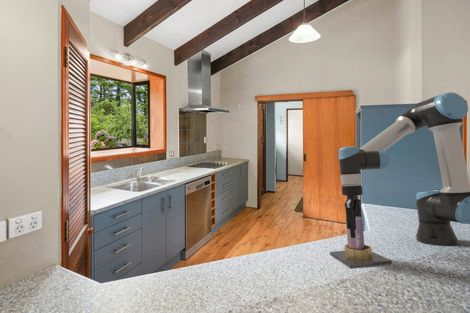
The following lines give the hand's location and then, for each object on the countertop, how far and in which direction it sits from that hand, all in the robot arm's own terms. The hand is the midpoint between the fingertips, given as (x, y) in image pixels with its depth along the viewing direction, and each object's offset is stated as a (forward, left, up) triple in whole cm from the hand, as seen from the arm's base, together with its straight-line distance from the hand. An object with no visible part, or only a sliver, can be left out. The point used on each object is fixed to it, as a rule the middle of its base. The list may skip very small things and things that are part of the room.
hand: (356, 244), depth 101 cm
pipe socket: (0, 0, -6) cm, 6 cm away
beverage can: (0, 0, -5) cm, 5 cm away
